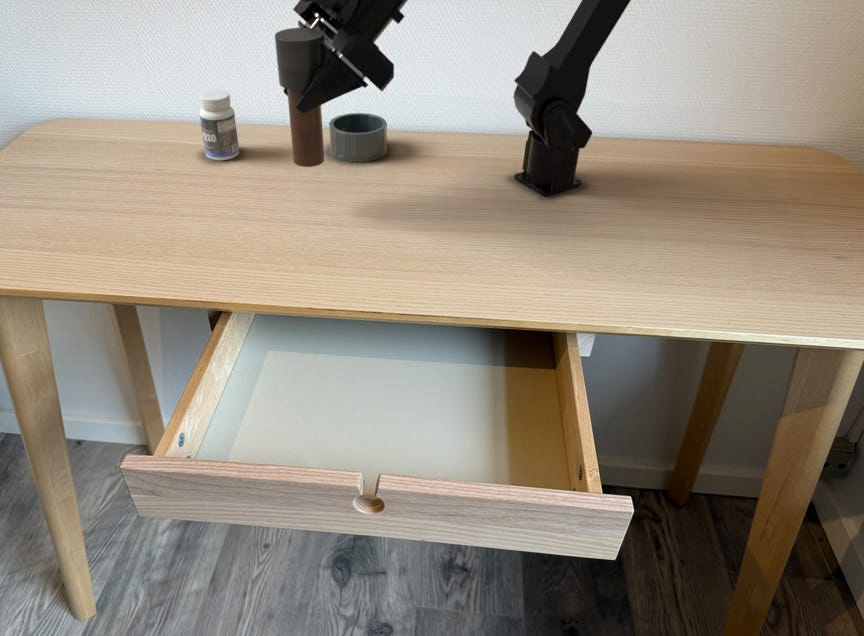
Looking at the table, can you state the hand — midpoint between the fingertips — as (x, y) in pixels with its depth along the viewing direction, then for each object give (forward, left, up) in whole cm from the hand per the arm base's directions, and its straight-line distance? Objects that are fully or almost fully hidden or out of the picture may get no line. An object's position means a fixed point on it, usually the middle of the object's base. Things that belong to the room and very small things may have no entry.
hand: (292, 102), depth 79 cm
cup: (+12, -15, -13) cm, 24 cm away
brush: (0, -1, -7) cm, 7 cm away
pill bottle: (+21, +2, -14) cm, 25 cm away
